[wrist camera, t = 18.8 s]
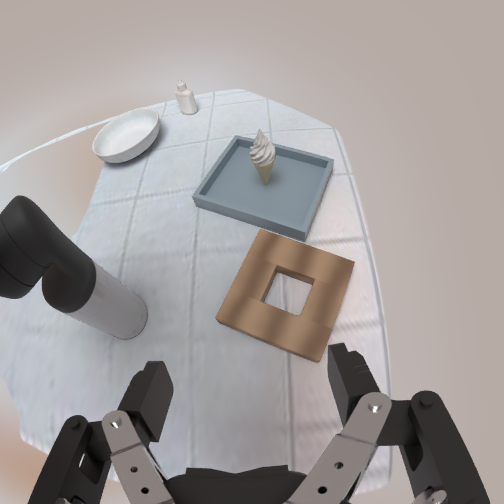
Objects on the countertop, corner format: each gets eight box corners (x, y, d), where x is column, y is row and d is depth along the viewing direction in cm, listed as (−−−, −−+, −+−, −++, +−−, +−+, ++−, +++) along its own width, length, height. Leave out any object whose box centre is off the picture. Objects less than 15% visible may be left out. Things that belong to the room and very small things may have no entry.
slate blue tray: (196, 206, 60) (192, 196, 57) (237, 145, 68) (235, 135, 65) (304, 242, 54) (305, 232, 50) (332, 170, 61) (334, 159, 58)
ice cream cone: (268, 172, 61) (262, 117, 48) (283, 185, 59) (280, 129, 46) (249, 183, 60) (239, 129, 47) (264, 197, 58) (257, 142, 45)
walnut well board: (219, 322, 48) (215, 318, 45) (261, 237, 55) (260, 228, 52) (317, 362, 43) (319, 361, 41) (351, 268, 50) (354, 261, 47)
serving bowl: (164, 115, 79) (157, 98, 73) (167, 156, 69) (159, 137, 63) (105, 139, 78) (96, 123, 72) (99, 183, 68) (87, 166, 62)
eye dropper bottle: (186, 118, 76) (175, 85, 66) (180, 111, 79) (169, 80, 68) (199, 112, 77) (190, 79, 66) (192, 105, 79) (183, 74, 69)
